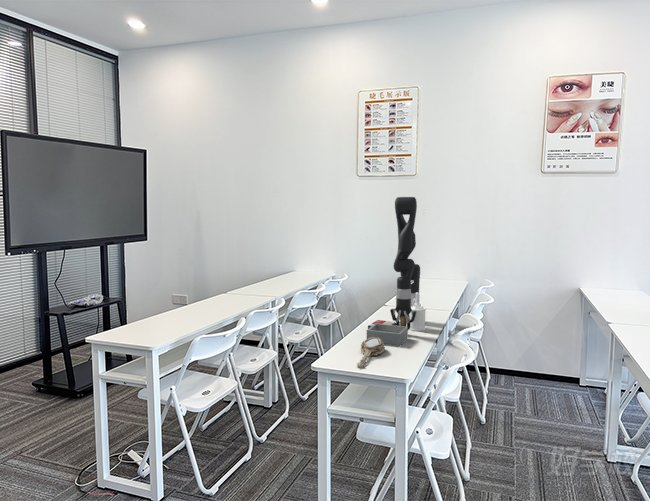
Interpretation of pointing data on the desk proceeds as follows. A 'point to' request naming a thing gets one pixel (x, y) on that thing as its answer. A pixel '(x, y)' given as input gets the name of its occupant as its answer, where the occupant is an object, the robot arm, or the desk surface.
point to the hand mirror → (370, 349)
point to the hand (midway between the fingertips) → (403, 329)
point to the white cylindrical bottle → (417, 315)
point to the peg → (402, 321)
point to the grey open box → (388, 333)
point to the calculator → (382, 323)
